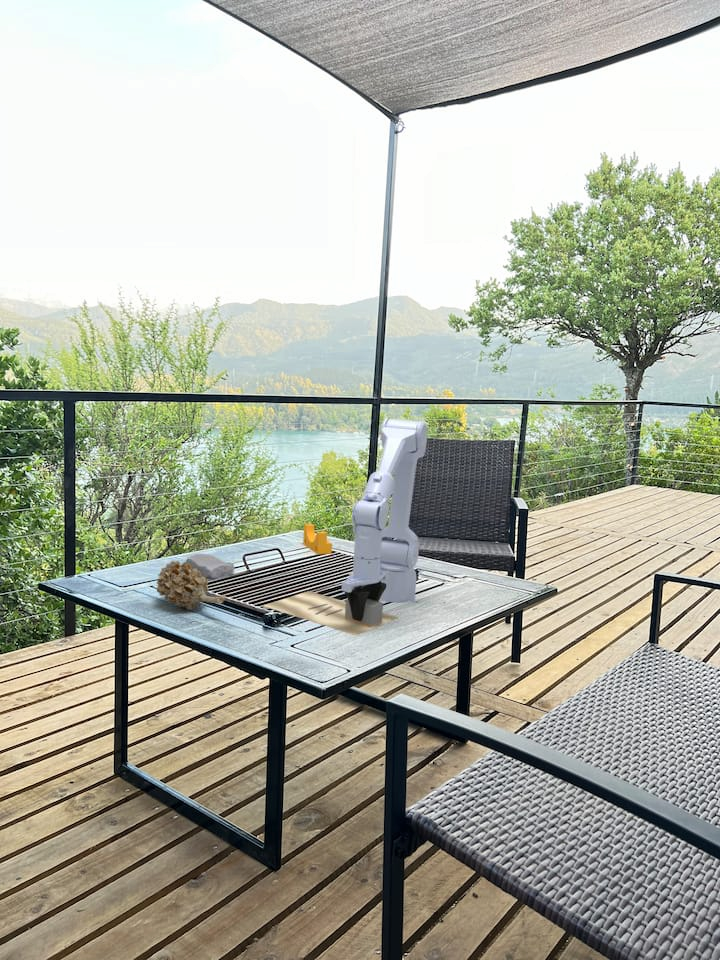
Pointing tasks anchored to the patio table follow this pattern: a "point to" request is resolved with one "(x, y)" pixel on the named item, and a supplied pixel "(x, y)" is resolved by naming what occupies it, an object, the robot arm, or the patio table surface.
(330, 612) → the board
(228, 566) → the stone block
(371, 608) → the block
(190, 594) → the dried flower head
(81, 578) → the patio table surface
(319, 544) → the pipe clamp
